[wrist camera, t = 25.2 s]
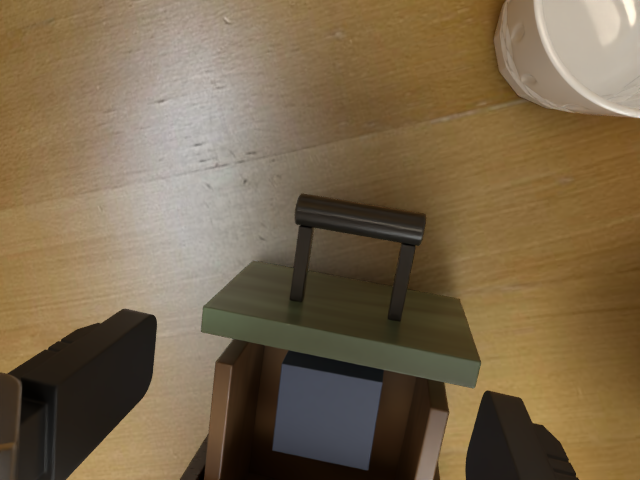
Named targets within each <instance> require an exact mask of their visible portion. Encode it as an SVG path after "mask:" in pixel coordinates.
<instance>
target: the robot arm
mask: <svg viewBox="0 0 640 480" xmlns="http://www.w3.org/2000/svg"><path fill="white" fill-rule="evenodd" d="M156 330H157V320H156V317H155V316H154V315H151V314H147V313H142V312H138V311H133V310H129V309H122V310H121V311H119V312H118V313H116V314H115V315H113V316H112V317H110V318H109V319H107V320H106V321H104V322H103V323H96V324H93V325H90V326H87V327H83V328H80V329H77V330H75V331H74V332H72V333H71V334H69V335H67V336H66V337H64V338H63V339H61V342H60V341H58V342H56V343H55V344H53V345H52V346H50V347H49V348H48V350H44V351H42V352H41V353H39V354H37V355H36V356H34V357H33V358H31V359H30V360H28V361H26V362H25V363H23V364H22V365H20V366H19V367H17V368H15V369H14V370H12V371H11V372H9V373H8V374H6V373H0V480H66V479H67V478H68V477H69V476H70V475H71V473H72V472H73V471H74V470H75V469H76V468H77V467H78V466H79V465H80V464H81V463H82V462H83V461H84V460H85V459H86V458H87V456H88V455H89V454H90V453H91V452H92V451H93V450H94V449H95V448H96V447H97V446H98V445H99V444H100V443H101V442H102V441H103V439H104V438H105V437H106V436H107V435H108V434H109V433H110V432H111V431H112V430H113V429H114V428H115V427H116V426H117V425H118V424H119V422H120V421H121V420H122V419H123V418H124V417H125V416H126V415H127V414H128V413H129V412H130V411H131V410H132V409H133V408H134V407H135V405H136V404H137V403H138V402H139V401H140V400H141V399H142V398H143V397H144V395H145V394H146V392H147V390H148V388H149V385H150V382H151V379H152V374H153V365H154V353H155V342H156ZM568 460H569V459H568V457H567V455H566V453H565V451H564V449H563V447H562V445H561V443H560V442H559V441H558V440H557V439H556V438H555V437H554V436H553V435H552V434H551V433H550V432H549V431H548V430H547V429H546V428H545V427H544V426H543V425H538V424H534V423H532V421H531V419H530V416H529V414H528V412H527V410H526V407H525V405H524V403H523V401H522V399H521V398H519V397H514V396H510V395H505V394H501V393H496V392H492V391H486V392H485V393H484V395H483V397H482V400H481V403H480V407H479V411H478V414H477V418H476V422H475V425H474V429H473V432H472V436H471V440H470V443H469V447H468V451H467V457H466V480H579V479H578V478H577V477H576V473H575V471H574V469H573V467H572V465H571V463H569V462H568Z"/></svg>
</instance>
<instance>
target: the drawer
mask: <svg viewBox="0 0 640 480" xmlns="http://www.w3.org/2000/svg"><path fill="white" fill-rule="evenodd" d="M295 223H296V224H297V225H300V227H299V232H298V239H297V247H296V254H295V261H294V268H291V267H286V266H280V265H275V264H269V263H264V262H259V261H252V262H251V263H250V264H249V265H248V266H247V267H246V268H245V269H243V270H242V271H241V272H240V273H239V274H238V275H237V276H236V277H235V278H234V279H233V280H232V281H230V282H229V283H228V284H227V285H226V286H225V287H224V288H223V289H222V290H221V291H220V292H218V293H217V294H216V295H215V296H214V297H213V298H212V299H211V300H210V301H209V302H208V303H207V304H205V305H204V306H203V314H202V325H201V332H203V333H208V334H213V335H218V336H222V337H227V338H232V339H233V341H232V342H231V343H230V344H229V346H228V347H227V348H226V350H225V351H224V352H223V353H222V355H221V356H220V357H219V359H218V360H217V361H216V363H215V373H214V383H213V394H212V404H211V414H210V424H209V434H208V444H207V454H206V464H205V474H204V480H433V479H434V475H435V471H436V467H437V462H438V458H439V454H440V450H441V445H442V441H443V437H444V433H445V428H446V424H447V420H448V416H449V408H448V402H447V396H446V390H445V385H444V382H445V383H450V384H455V385H460V386H464V387H469V388H475V386H476V382H477V378H478V374H479V370H480V366H481V360H480V357H479V354H478V352H477V349H476V346H475V343H474V340H473V337H472V334H471V331H470V328H469V325H468V322H467V319H466V316H465V313H464V310H463V307H462V305H461V302H460V299H457V298H452V297H447V296H441V295H436V294H431V293H425V292H420V291H414V290H409V289H407V288H408V283H409V278H410V273H411V268H412V262H413V257H414V252H415V245H416V246H420V245H421V243H422V240H423V235H424V230H425V224H426V214H424V213H418V212H412V211H406V210H400V209H394V208H388V207H382V206H376V205H370V204H364V203H358V202H352V201H346V200H340V199H334V198H328V197H322V196H316V195H310V194H304V193H301V194H300V195H299V197H298V200H297V204H296V209H295ZM314 228H319V229H325V230H331V231H336V232H342V233H348V234H354V235H359V236H365V237H371V238H376V239H382V240H388V241H393V242H399V243H401V247H400V252H399V258H398V263H397V268H396V274H395V279H394V284H393V286H388V285H382V284H377V283H371V282H366V281H361V280H355V279H350V278H345V277H339V276H334V275H329V274H323V273H318V272H312V271H308V268H309V261H310V254H311V247H312V240H313V233H314ZM288 350H290V351H295V352H300V353H305V354H310V355H314V356H319V357H324V358H329V359H334V360H339V361H343V362H348V363H353V364H358V365H363V366H368V367H372V368H377V369H382V370H384V373H383V385H382V391H381V397H380V403H379V409H378V415H377V421H376V427H375V433H374V439H373V445H372V451H371V457H370V463H369V469H368V470H363V469H358V468H353V467H348V466H344V465H339V464H334V463H329V462H325V461H320V460H315V459H310V458H306V457H301V456H296V455H291V454H287V453H282V452H277V451H273V450H272V446H273V437H274V428H275V419H276V410H277V401H278V392H279V382H280V373H281V364H282V362H283V360H284V358H285V356H286V354H287V352H288Z"/></svg>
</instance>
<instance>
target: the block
mask: <svg viewBox="0 0 640 480" xmlns="http://www.w3.org/2000/svg"><path fill="white" fill-rule="evenodd" d="M383 373H384V370H382V369H377V368H372V367H368V366H363V365H358V364H353V363H348V362H343V361H339V360H334V359H329V358H324V357H319V356H314V355H310V354H305V353H300V352H295V351H290V350H288V352H287V354H286V356H285V358H284V360H283V362H282V364H281V373H280V382H279V392H278V401H277V410H276V419H275V428H274V437H273V446H272V450H273V451H277V452H282V453H287V454H291V455H296V456H301V457H306V458H310V459H315V460H320V461H325V462H329V463H334V464H339V465H344V466H348V467H353V468H358V469H363V470H368V469H369V463H370V457H371V451H372V445H373V439H374V433H375V427H376V421H377V415H378V409H379V403H380V397H381V391H382V385H383Z"/></svg>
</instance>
